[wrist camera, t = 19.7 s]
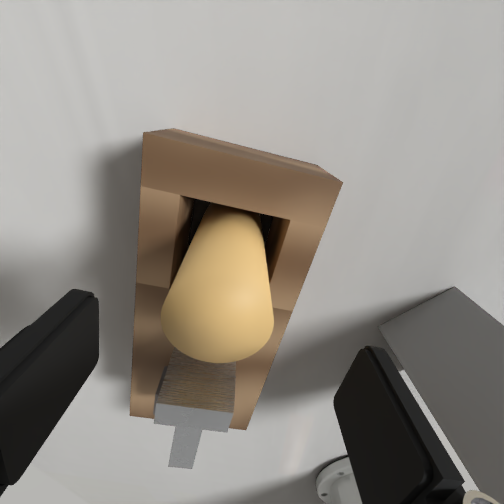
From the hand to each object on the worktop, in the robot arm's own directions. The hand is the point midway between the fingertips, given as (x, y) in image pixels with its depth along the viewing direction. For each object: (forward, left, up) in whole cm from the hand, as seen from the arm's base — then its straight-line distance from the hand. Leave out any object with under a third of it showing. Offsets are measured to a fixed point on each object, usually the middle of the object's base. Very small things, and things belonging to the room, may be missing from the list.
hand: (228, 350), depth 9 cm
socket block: (-4, +1, -10) cm, 11 cm away
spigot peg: (+1, +1, -10) cm, 11 cm away
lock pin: (-11, +1, -5) cm, 12 cm away
